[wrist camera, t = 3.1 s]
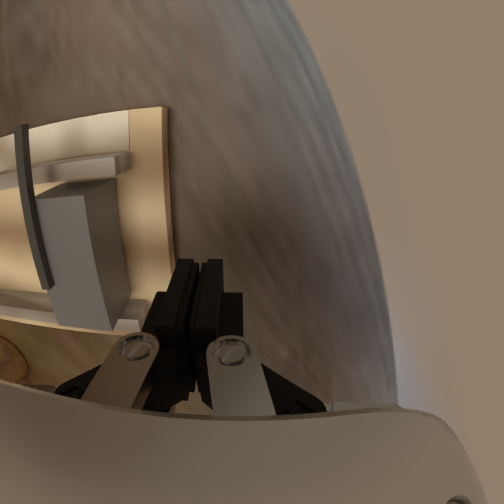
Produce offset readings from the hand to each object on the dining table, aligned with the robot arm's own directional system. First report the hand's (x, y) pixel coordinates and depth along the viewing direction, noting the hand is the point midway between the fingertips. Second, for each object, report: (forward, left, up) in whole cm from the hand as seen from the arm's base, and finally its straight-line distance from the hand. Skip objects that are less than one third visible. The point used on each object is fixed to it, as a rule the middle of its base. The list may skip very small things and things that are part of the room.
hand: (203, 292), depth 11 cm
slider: (+1, +8, -7) cm, 11 cm away
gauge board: (-1, +16, -9) cm, 18 cm away
